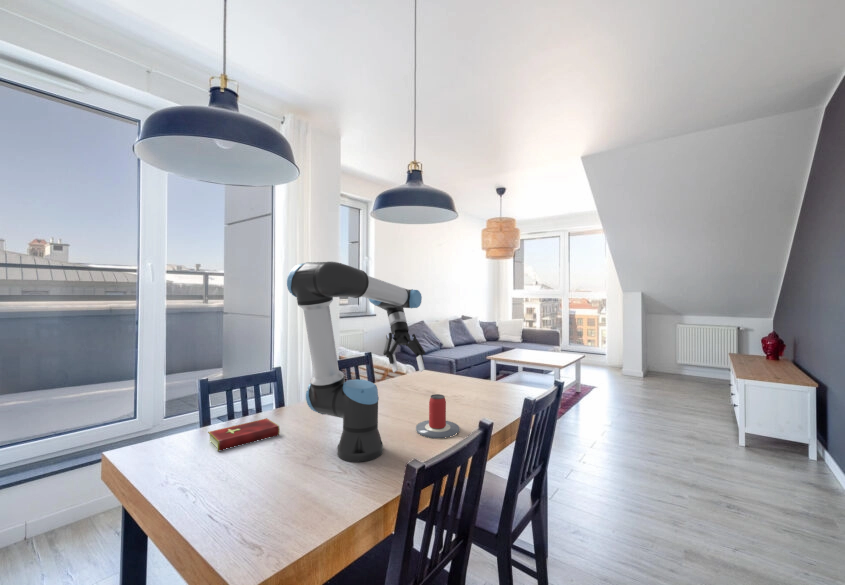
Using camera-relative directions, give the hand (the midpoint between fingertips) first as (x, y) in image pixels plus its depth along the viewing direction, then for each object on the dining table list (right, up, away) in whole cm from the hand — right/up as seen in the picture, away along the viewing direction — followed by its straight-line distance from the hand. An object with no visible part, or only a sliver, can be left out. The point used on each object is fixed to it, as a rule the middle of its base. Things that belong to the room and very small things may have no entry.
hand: (409, 371), depth 151 cm
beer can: (+11, -21, -6) cm, 24 cm away
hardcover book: (-60, -22, -15) cm, 66 cm away
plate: (+11, -22, -6) cm, 25 cm away
